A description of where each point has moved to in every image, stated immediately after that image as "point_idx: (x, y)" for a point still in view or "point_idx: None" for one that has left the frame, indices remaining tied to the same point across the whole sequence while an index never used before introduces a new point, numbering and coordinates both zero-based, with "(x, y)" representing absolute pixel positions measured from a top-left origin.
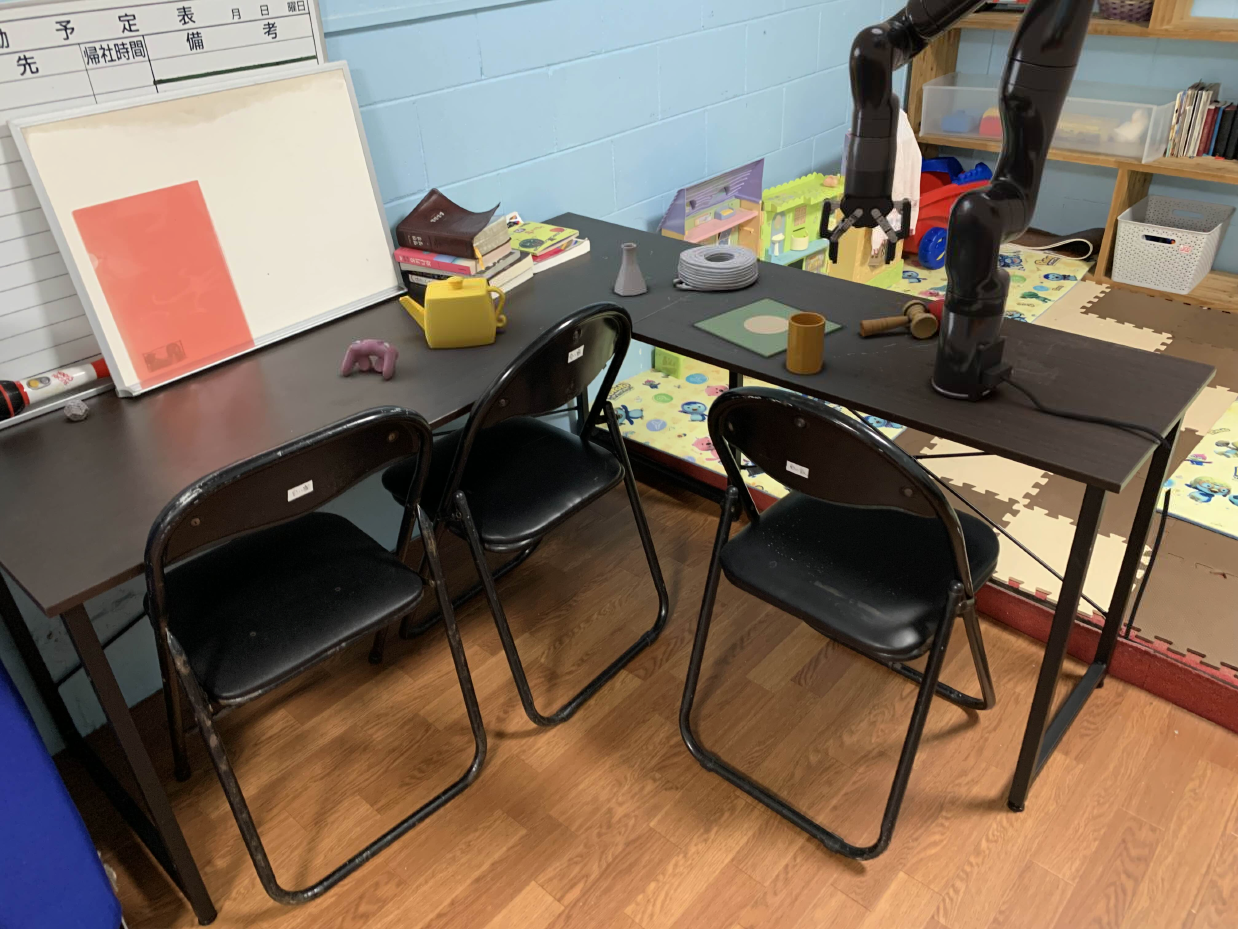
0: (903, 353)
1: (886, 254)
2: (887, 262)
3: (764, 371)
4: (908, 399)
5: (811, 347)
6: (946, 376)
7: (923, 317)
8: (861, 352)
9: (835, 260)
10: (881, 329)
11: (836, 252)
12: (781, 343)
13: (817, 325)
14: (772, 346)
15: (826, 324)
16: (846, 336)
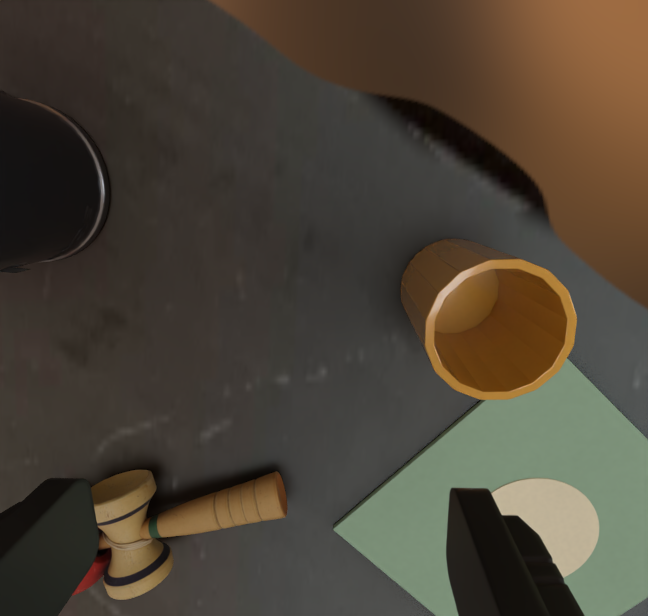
0: (181, 384)
1: (36, 543)
2: (62, 483)
3: (567, 251)
4: (171, 96)
5: (458, 251)
6: (38, 114)
7: (106, 503)
8: (288, 385)
9: (473, 499)
10: (231, 488)
11: (493, 557)
12: (503, 423)
13: (463, 270)
14: (531, 403)
15: (371, 537)
16: (322, 477)
